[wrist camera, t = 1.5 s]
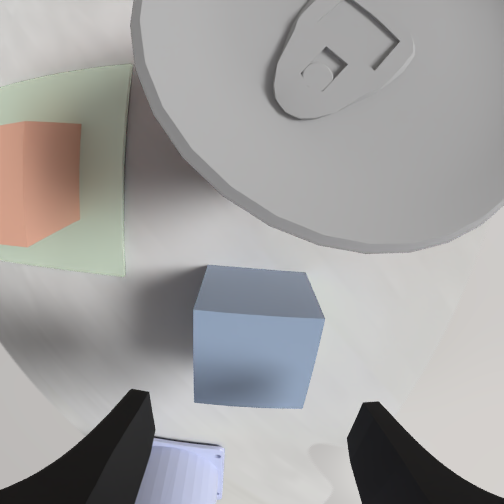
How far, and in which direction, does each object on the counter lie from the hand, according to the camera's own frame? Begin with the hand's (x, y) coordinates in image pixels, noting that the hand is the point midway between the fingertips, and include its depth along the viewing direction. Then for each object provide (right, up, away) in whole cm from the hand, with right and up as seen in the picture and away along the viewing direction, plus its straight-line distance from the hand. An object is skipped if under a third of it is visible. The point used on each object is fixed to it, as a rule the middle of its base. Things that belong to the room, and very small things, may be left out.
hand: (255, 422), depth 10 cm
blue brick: (0, +2, +8) cm, 8 cm away
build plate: (-11, +10, +5) cm, 16 cm away
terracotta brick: (-11, +10, +4) cm, 16 cm away
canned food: (+2, +13, +4) cm, 14 cm away
